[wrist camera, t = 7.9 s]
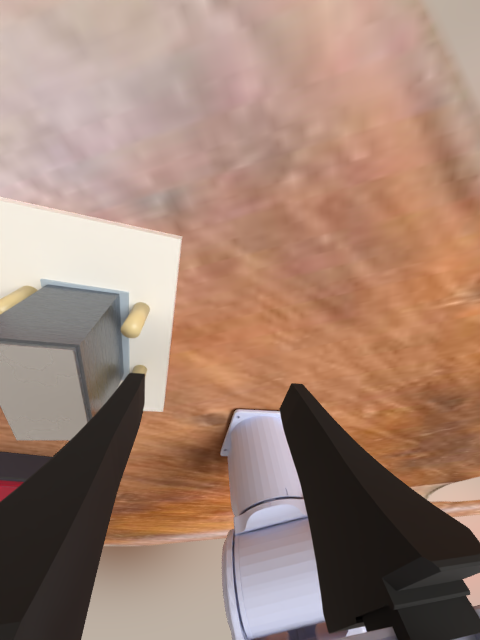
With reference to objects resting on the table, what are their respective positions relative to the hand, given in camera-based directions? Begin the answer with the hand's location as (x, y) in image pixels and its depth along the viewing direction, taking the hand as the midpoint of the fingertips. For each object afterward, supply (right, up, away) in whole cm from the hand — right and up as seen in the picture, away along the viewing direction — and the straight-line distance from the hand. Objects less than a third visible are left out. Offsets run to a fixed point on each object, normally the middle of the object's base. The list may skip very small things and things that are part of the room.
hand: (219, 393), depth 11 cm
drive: (-11, +2, +7) cm, 13 cm away
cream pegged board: (-11, +3, +8) cm, 14 cm away
